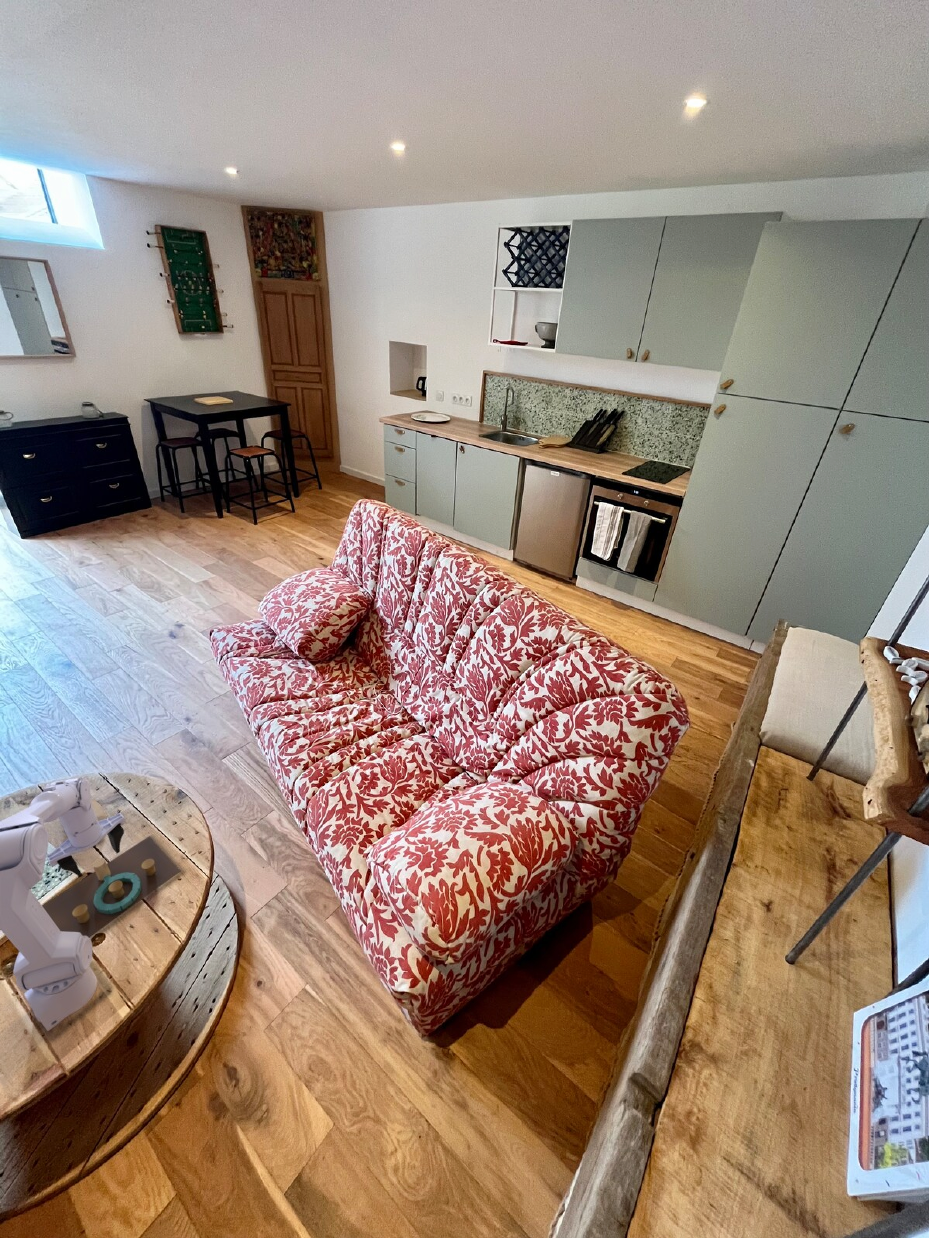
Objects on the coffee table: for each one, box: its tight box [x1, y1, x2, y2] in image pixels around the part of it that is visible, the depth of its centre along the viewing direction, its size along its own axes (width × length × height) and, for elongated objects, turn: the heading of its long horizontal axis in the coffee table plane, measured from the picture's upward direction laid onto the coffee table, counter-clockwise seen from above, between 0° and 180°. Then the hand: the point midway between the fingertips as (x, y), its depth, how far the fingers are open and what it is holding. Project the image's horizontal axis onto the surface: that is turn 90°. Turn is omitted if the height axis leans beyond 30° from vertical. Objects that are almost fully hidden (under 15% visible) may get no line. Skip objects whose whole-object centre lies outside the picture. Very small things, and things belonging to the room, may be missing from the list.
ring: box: [91, 857, 142, 914], centre depth 114 cm, size 9×13×5 cm
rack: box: [41, 836, 181, 939], centre depth 115 cm, size 23×15×4 cm, turn 144°
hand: (98, 861), depth 115 cm, fingers open, 7 cm apart
